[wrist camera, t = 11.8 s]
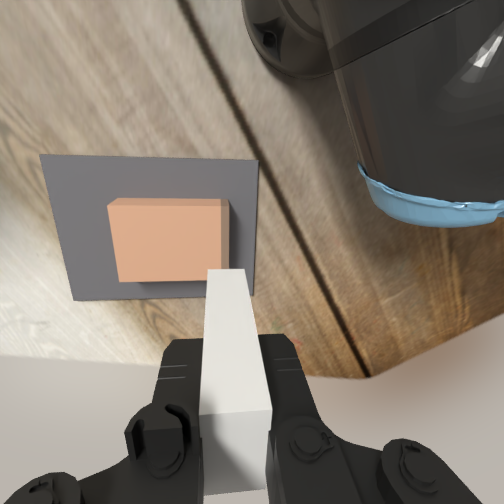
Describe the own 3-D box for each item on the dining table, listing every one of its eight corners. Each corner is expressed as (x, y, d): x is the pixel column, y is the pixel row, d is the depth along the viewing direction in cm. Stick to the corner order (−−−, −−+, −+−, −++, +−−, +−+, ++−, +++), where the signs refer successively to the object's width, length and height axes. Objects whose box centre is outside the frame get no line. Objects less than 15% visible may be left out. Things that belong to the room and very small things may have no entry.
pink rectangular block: (106, 205, 33) (229, 206, 35) (117, 197, 37) (228, 199, 39) (119, 282, 37) (228, 279, 39) (127, 268, 41) (227, 266, 42)
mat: (41, 154, 35) (39, 154, 34) (257, 160, 38) (258, 160, 37) (75, 298, 42) (73, 300, 42) (252, 293, 45) (252, 295, 45)
